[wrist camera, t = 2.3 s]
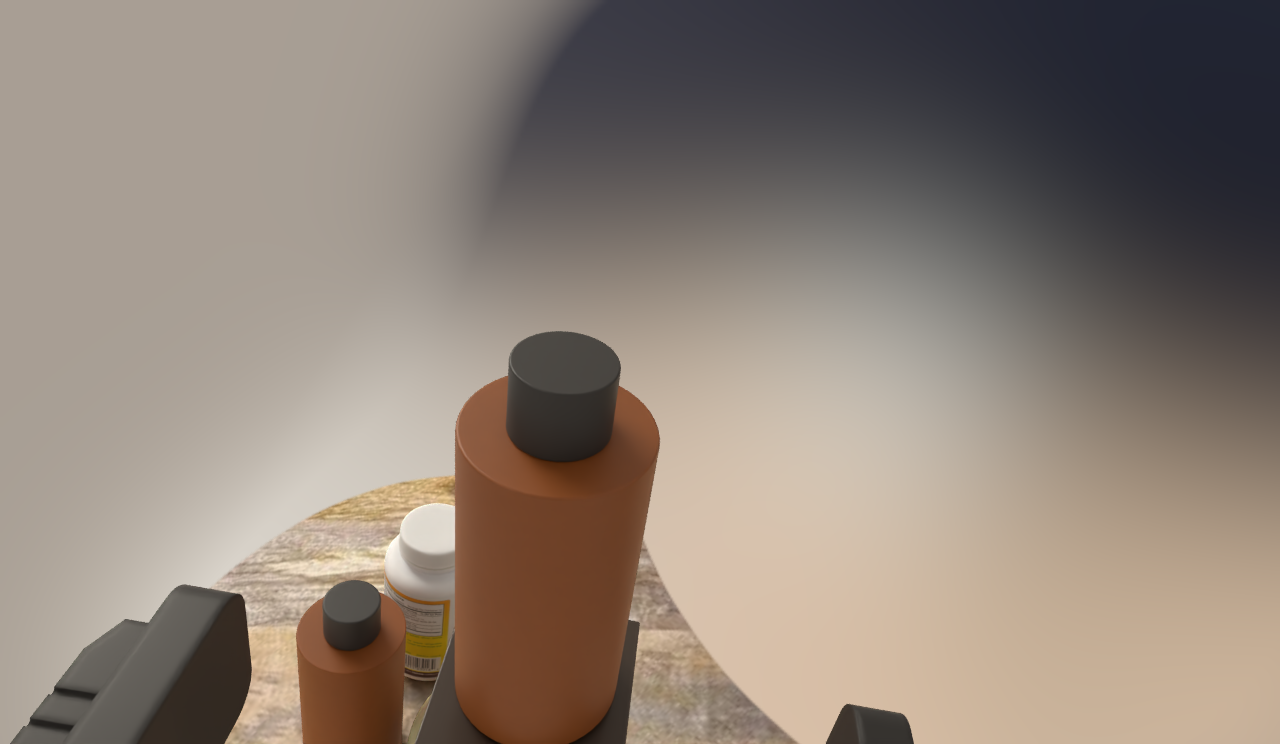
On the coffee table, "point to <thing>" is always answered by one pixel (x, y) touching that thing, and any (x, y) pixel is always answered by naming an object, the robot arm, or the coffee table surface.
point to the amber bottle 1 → (352, 667)
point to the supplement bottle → (424, 585)
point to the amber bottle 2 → (548, 538)
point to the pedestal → (455, 740)
